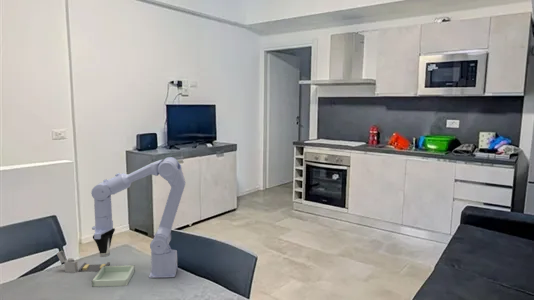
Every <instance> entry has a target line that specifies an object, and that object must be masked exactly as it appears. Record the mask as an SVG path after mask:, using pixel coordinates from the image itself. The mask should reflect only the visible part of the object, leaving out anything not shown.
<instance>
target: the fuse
mask: <svg viewBox="0 0 534 300" xmlns="http://www.w3.org/2000/svg"><path fill="white" fill-rule="evenodd" d="M110 249H111V245H110V246H109V240H108V244H107V252H106V253H100V252H99V257H100V258H107V257H109V256H110V255H111V250H110Z"/></svg>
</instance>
